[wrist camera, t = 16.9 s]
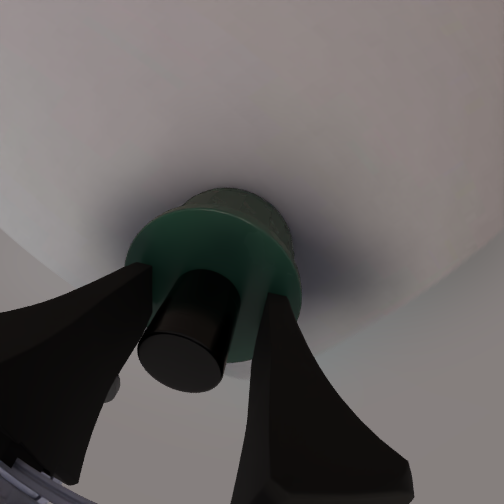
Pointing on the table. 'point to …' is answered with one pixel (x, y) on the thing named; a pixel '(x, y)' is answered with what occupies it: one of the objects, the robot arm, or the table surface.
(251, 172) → the table surface
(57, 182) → the table surface
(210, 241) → the lid
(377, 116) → the table surface
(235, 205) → the green pot
